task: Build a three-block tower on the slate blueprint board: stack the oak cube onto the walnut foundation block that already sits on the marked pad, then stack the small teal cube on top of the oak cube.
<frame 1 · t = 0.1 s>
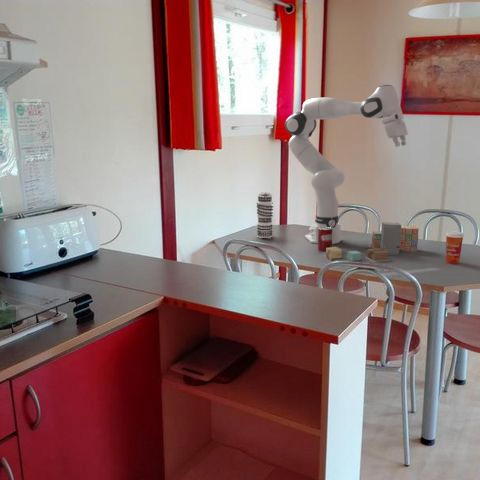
hand: (401, 145, 256), 52 cm above the table, tool tilted 20°, fingers open, 8 cm apart
skincare box: (389, 255, 260), on the table
walnut foundation block: (377, 258, 249), point 1 cm above the table, touching blueprint board
teal cube: (353, 261, 249), on the table
paper cup: (452, 262, 246), on the table
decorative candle: (264, 237, 300), on the table
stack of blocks: (394, 250, 268), on the table
soda can: (324, 251, 267), on the table
oak cube: (333, 259, 254), on the table
blueprint board: (376, 260, 250), on the table
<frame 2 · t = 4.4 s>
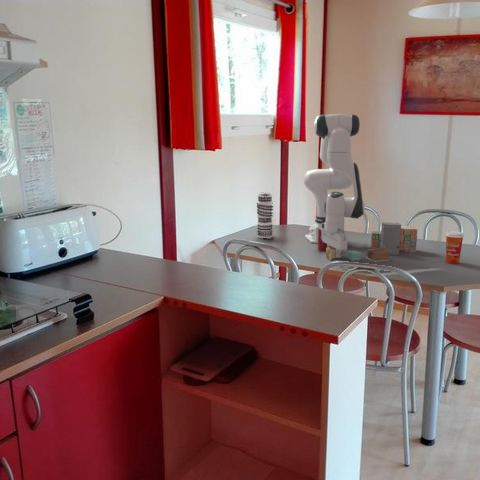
hand: (333, 255, 253), 2 cm above the table, tool pointing down, fingers closed on oak cube, 5 cm apart
oak cube: (333, 258, 254), on the table, touching gripper
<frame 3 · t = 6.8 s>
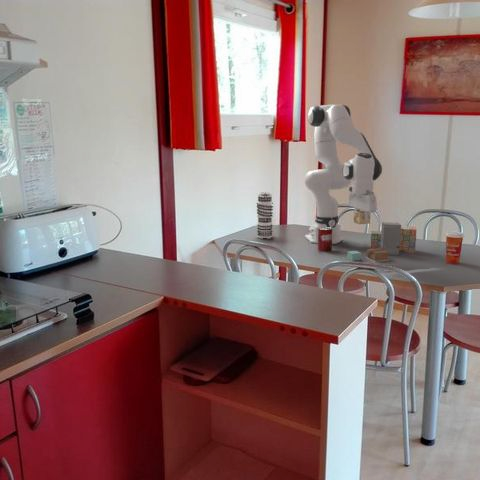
hand: (362, 219, 246), 20 cm above the table, tool pointing down, fingers closed on oak cube, 5 cm apart
oak cube: (361, 222, 246), point 18 cm above the table, touching gripper
when the fingers open (8 cm above the table, at t = 9.5 s): oak cube stays where it is, resting on walnut foundation block.
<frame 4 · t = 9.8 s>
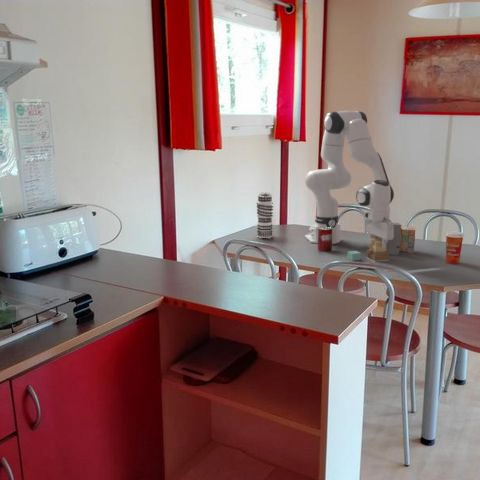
hand: (378, 245, 247), 8 cm above the table, tool pointing down, fingers open, 8 cm apart
walnut foundation block: (377, 258, 249), point 1 cm above the table, touching blueprint board, oak cube
oak cube: (377, 250, 248), point 5 cm above the table, touching walnut foundation block
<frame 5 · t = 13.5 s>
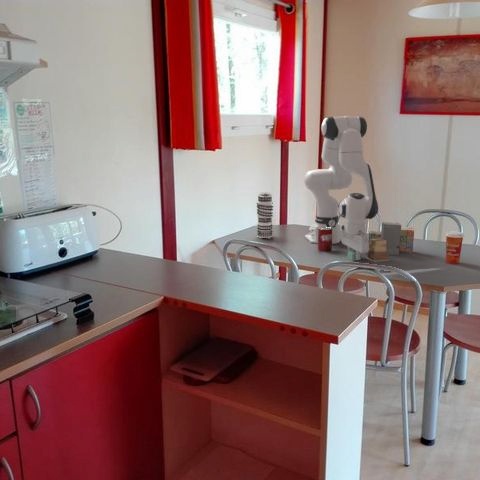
hand: (354, 257, 249), 2 cm above the table, tool pointing down, fingers closed on teal cube, 4 cm apart
teal cube: (353, 261, 249), on the table, touching gripper
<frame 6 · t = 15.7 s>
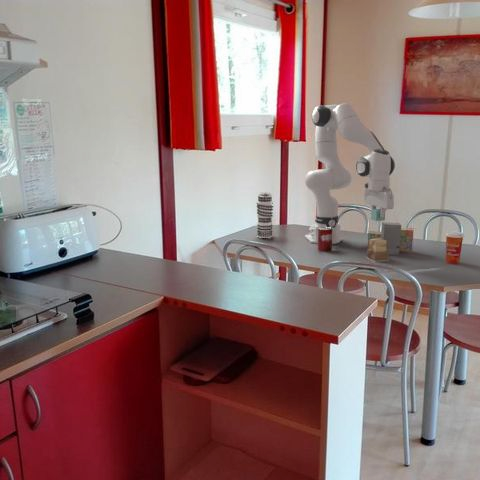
hand: (378, 216, 244), 21 cm above the table, tool pointing down, fingers closed on teal cube, 4 cm apart
teal cube: (377, 219, 244), point 20 cm above the table, touching gripper
when the fingers open (12 cm above the table, at t = 17.8 s): teal cube stays where it is, resting on oak cube.
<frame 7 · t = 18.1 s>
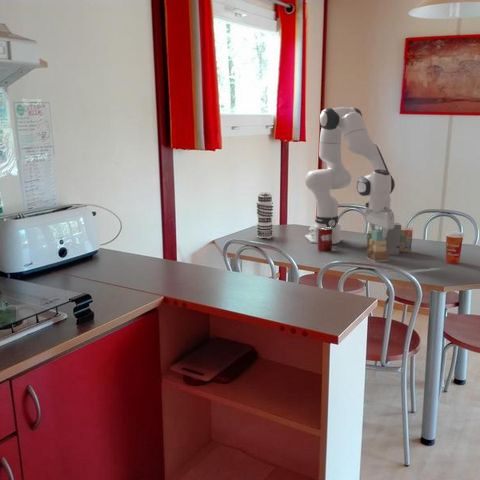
hand: (378, 235, 246), 12 cm above the table, tool pointing down, fingers open, 8 cm apart
teal cube: (378, 240, 247), point 10 cm above the table, touching oak cube
oak cube: (377, 250, 248), point 5 cm above the table, touching teal cube, walnut foundation block
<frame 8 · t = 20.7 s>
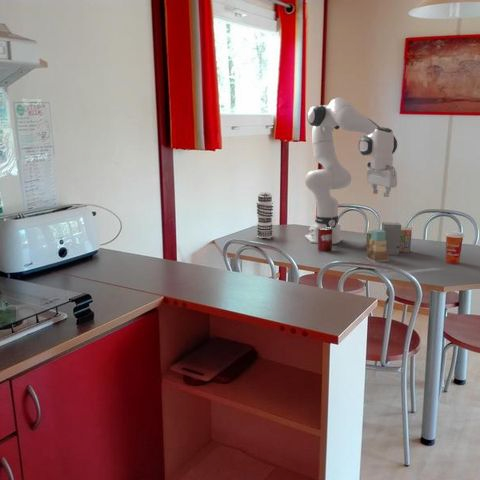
hand: (380, 195, 242), 31 cm above the table, tool pointing down, fingers open, 8 cm apart
at the end: oak cube 0.1 cm off-centre on the walnut foundation block, point 4.0 cm above the walnut foundation block's base; teal cube 0.1 cm off-centre on the oak cube, point 5.0 cm above the oak cube's base; teal cube point 10.1 cm above the table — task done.
